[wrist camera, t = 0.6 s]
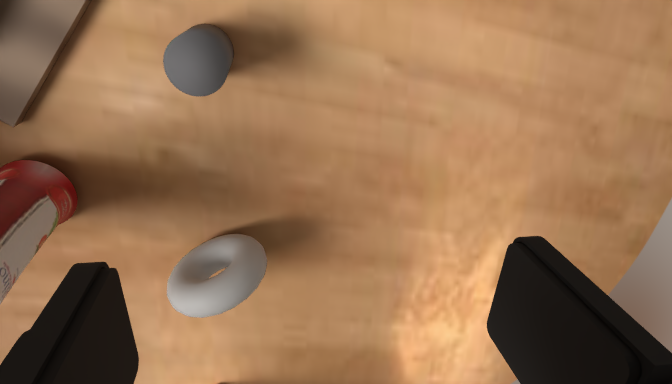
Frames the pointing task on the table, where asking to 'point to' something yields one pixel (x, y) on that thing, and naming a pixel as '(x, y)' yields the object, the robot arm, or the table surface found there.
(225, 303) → the donut
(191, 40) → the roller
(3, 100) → the socket board
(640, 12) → the table surface
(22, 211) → the liquor
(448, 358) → the table surface
